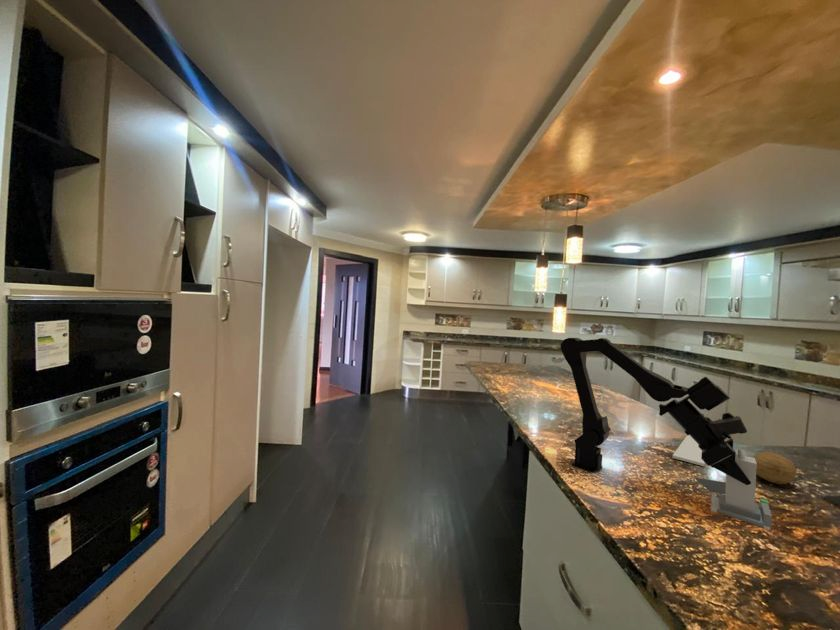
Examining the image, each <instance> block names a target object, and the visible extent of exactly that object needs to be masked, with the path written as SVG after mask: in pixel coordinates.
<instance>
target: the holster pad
mask: <svg viewBox="0 0 840 630" xmlns="http://www.w3.org/2000/svg"><path fill="white" fill-rule="evenodd" d="M693 478H694V479H696V480H697V482H699V483H700V484H701V485H702V486H703V487H704V488H705V489H706V490H708V491H709V492H711V493H716V494H720V493H721V494H724V495H725V485H726V481H720V480H719V481H718V480H713V479H706V478H700V477H695V476H694V477H693Z"/></svg>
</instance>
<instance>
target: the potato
mask: <svg viewBox="0 0 840 630" xmlns="http://www.w3.org/2000/svg"><path fill="white" fill-rule="evenodd" d="M752 458H755V460H756V463H757V467H756V476H758V477H760V478H762V479H764V480H765V481H767V482H769V483H773V484H777V485H784V484H789V483H792V482H793V481H794V479H795V477H796V476H797V468H796V466H795V465H794V463H793V462H792V461H790V460H789V459H788V458H786V457H784V456H782V455H780V454H779V453H776V452H771V451H761V452H758V453H757V454H755V455H754V456H753V457H752Z"/></svg>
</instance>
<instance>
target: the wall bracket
mask: <svg viewBox="0 0 840 630" xmlns="http://www.w3.org/2000/svg"><path fill="white" fill-rule="evenodd" d="M698 445H699V444H698V443H697V442H696V441H695V440H694V439H693V438H692V437H691V436H690V435H687V434H686V437H685V438H684V439H683V441H682V442H681V443H680V445H679V446H678V447H677V448H676V450H675V451H674V452H673V454H672V459H676V460H680V461H684V462H687V463H691V464H694V465H697V466H701V467H706V466H707V464H706V463H705V462H704V461H703V460H702V459H701V456H702V450H701V449H700V448H699V447H698Z"/></svg>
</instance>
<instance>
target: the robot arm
mask: <svg viewBox="0 0 840 630" xmlns="http://www.w3.org/2000/svg"><path fill="white" fill-rule="evenodd" d="M560 350H561V353H562V355H563V357H564V359H565V362H567V364H568V365H569V367H570V370H571V373H572V378H573V381H574V385H575V388H576V391H577V396H578V400H579V405H580V407H581V411H582V424H581V425H582V426H581V427H582V428H581V429H582V433H581V435H580V436H578V437H576V438H575V439H574V441H573V442H574V444H575V446H574V447H575V450H574V451H575V452H574V461H573V462H571V465H572V466H573V467H577V468H580V469H582V470H584V471H587V472H590V473H595V472H597V471H599V470H601V469H603V465H602V464H603V454H602V448H600V447H598V446H601V445H602V444H604V443H605V441H606V440H607V439H608V438H609V436H610V431H611V430H612V429H611V427H610V425H609V421H608V416H606V415H605V416H602V414H601V413H600V411H599V410H598V406H597V403H596V402H597V401H596V397H595V395H594V394H595V393H594V390H593V386H592V383H591V379H590V375H589V372H588V369H587V353H589V352H590V353H591V352H600V353H601V354H603V356H606V358H607V359H609V360H610V361H611V362H613V363H614V364H616V366H618V367H619V368H621V369H622V370H624V371H625V372H626V373H627V374H629V376H631V377H632V378H633V379H634V380H635V381H636V382H637V383H638V384H639V385H640V387H641V388H642V389H643V390H644V391H645V393H647V395H648V396H649V397H650V398H651V399H653V400H654V401H656V402H661V403H660V404H659V405H658V407H659V412H658V415H659V416H661V417H662V416H664V415H665V414H669V415H670V416H671V417H672V418H673V419H674V420H675V422H677V424H678V425H679V426H681V428H682V429H683V430H684V433H685V435H686V436H687V435H690V436H691V437H692V438H693V439H694V440H695V441H696V442H697V443H698V444H699V445H698V447H699V448H700V449H701V450H702V456H701V459H702V460H703V461H704V462H705V463H706V466H709V467H711V468H714V469H716V470H718V471H720V472H721V473H723V474H725V475H726V474H727V475H729V476H731V477H733V478H734V479H736V480H738V481H740V482H742V483H743V484H745V485H749V484H751V482H750V480H749V479H748V477H747V476H746V475H745V473H744V472H743V471H742V469H741V468H740V466H739V465H738V464H737V462H736V461H735V456H736V454H737V452H736V450H734V438H732V435H735V434H736V435H737V434H740V435H743V434H747V433H748V430H747V427H746V425H745V424H744V422H743V420H742V418H741V416H739V415H736V416H734V415H733V414H732V413H731V412H724V413H722V416H721V419H720V418H718V419H716V420H712V419H711V418H710V417H708V416H705V415H703V414H702V413H701V411H699V410H706V411H708V412H709V411H711V410H714V409H715V408H716V407H718V406H720V405H722V404H724V403H725V402H727V401H728V400H730V399H731V397H730V396H729V395H728V394H727V393H726V392H725V391H724V390H723V389H722V388H721V387H720V386H719V385H717V384H716V383H714V381H712V380H711V379H710V378H709V377H707V376H704V377H702V378H701V379H699V380H698V381H697V382H696V383H694V384H693V385H691V386H689V387H685V386H681V385H678V384H674V383H673V382H672V381H671V380H670V379H668V378H666V377H664V376H662V375H661V374H659V373H657V372H654V371H652V370H650V369H648V368H646V367H644V366H643V365H642V364H641V363H640V362H638V361H636V359H634V358H632V357H631V356H629V354H627V353H626V352H624V350H622V349H620V347H617V345H615V344H614V343H613V342H611V340H610V339H608V338H605V337H601V338H600V337H599V338H597V339H596V338H595V339H584V340H583V339H582V338H579V337H567V338H565V339H563V340H562V341H561V343H560ZM683 397H684V398H683ZM677 399H680V400H677ZM669 400H671V401H669ZM689 400H690V401H691V402H692V403H693V404H692V403H691V402H690V401H689ZM668 401H669V402H668ZM665 402H668V403H665ZM662 403H665V404H662ZM694 405H695V406H696V407H695V406H694ZM698 409H699V410H698Z"/></svg>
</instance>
